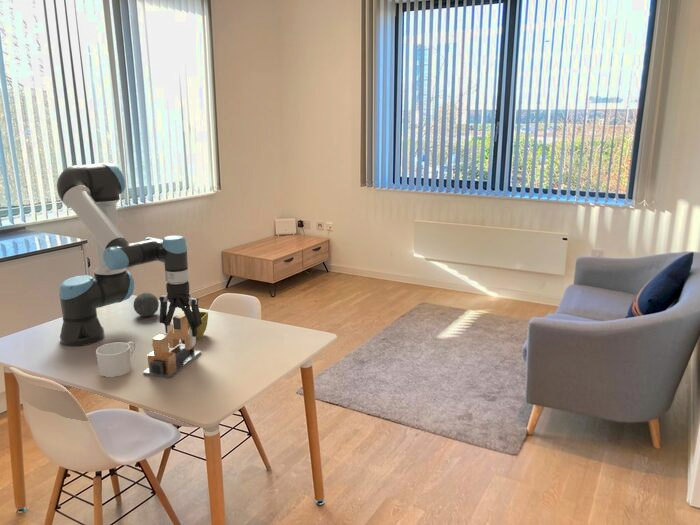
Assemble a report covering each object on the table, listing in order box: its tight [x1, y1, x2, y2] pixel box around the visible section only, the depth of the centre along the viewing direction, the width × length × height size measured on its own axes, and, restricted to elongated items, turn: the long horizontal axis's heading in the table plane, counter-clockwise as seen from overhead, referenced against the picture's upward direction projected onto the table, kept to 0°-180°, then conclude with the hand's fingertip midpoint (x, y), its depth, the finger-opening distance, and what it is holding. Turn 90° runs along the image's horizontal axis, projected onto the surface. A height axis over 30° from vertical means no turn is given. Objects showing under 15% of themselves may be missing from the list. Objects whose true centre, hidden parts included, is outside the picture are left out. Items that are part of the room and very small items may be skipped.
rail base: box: [142, 333, 202, 379], centre depth 193 cm, size 10×20×12 cm, turn 165°
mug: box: [95, 341, 136, 378], centre depth 189 cm, size 13×10×8 cm
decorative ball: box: [133, 292, 160, 317], centre depth 237 cm, size 10×10×10 cm
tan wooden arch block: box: [167, 313, 196, 350], centre depth 197 cm, size 8×5×12 cm, turn 75°
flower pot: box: [183, 311, 209, 341], centre depth 216 cm, size 9×9×9 cm
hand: (182, 343), depth 199 cm, fingers closed on tan wooden arch block, 8 cm apart
